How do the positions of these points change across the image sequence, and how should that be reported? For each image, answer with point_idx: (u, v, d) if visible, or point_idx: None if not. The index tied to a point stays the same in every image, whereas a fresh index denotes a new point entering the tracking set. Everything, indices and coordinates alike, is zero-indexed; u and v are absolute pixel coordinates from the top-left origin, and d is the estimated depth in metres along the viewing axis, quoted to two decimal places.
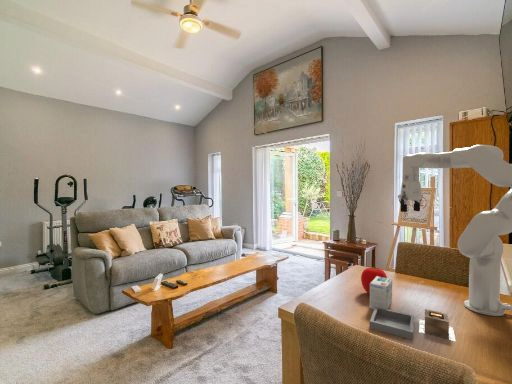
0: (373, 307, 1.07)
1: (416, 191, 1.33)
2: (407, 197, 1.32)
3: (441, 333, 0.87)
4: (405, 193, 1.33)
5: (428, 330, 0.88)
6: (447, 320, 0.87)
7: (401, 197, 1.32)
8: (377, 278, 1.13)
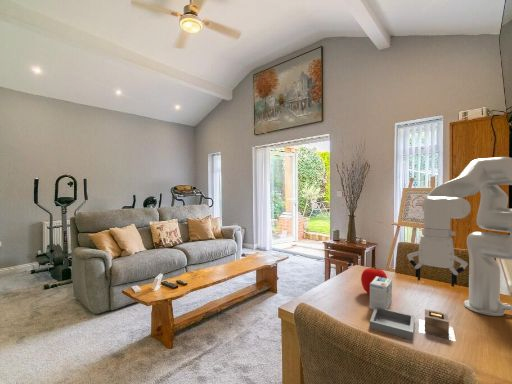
0: (373, 307, 1.07)
1: None
2: None
3: (441, 333, 0.87)
4: None
5: (428, 330, 0.88)
6: (447, 320, 0.87)
7: None
8: (377, 278, 1.12)
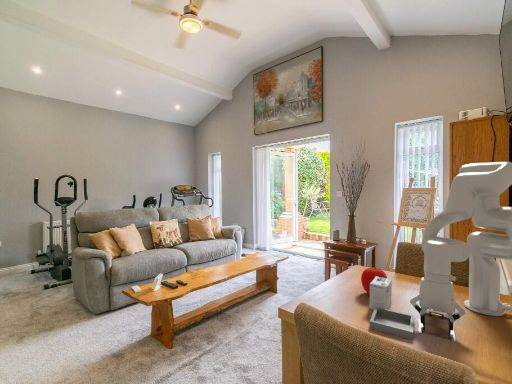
0: (373, 307, 1.07)
1: None
2: None
3: (441, 333, 0.87)
4: None
5: (428, 330, 0.88)
6: (447, 320, 0.87)
7: None
8: (377, 278, 1.13)
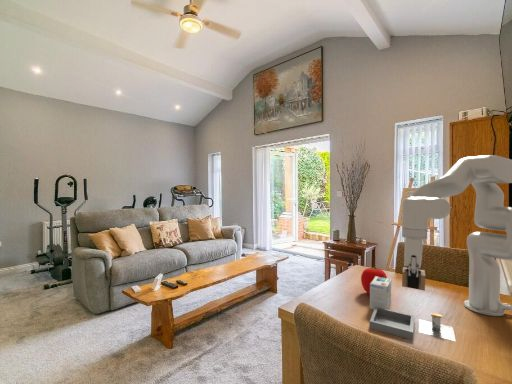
0: (373, 307, 1.07)
1: (404, 251, 0.92)
2: None
3: None
4: None
5: (424, 288, 0.87)
6: (420, 270, 0.92)
7: None
8: (376, 278, 1.13)
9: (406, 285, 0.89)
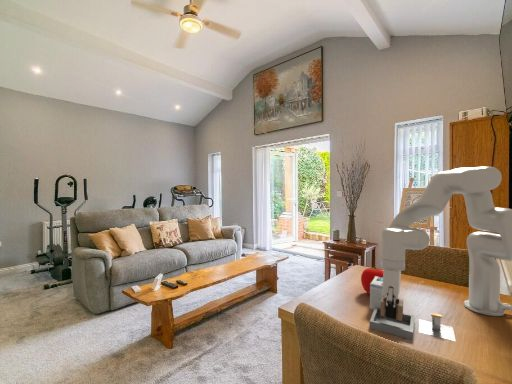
0: (373, 307, 1.07)
1: None
2: None
3: (402, 313, 0.92)
4: None
5: None
6: None
7: None
8: (376, 278, 1.13)
9: (384, 314, 0.91)
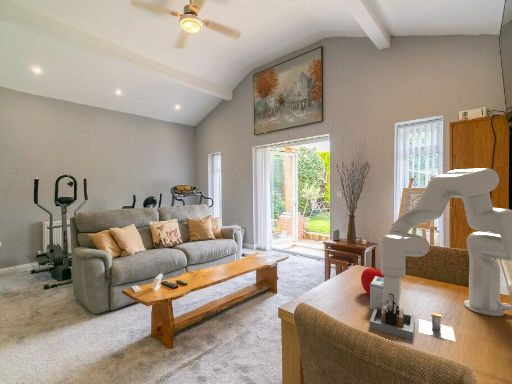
0: (373, 307, 1.07)
1: None
2: None
3: (403, 324, 0.92)
4: None
5: None
6: (400, 309, 0.94)
7: None
8: (376, 278, 1.13)
9: None
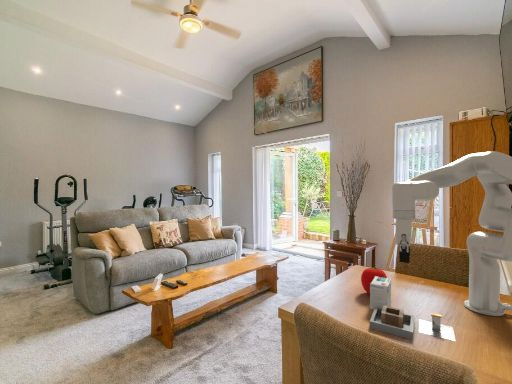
0: (374, 307, 1.07)
1: None
2: None
3: (403, 324, 0.92)
4: None
5: None
6: (400, 309, 0.94)
7: None
8: (376, 278, 1.13)
9: None
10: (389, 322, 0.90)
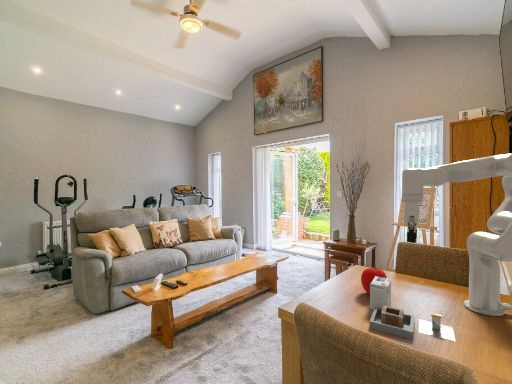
0: (374, 307, 1.07)
1: None
2: None
3: (403, 324, 0.92)
4: None
5: None
6: (400, 309, 0.94)
7: None
8: (376, 278, 1.13)
9: None
10: (389, 322, 0.90)
